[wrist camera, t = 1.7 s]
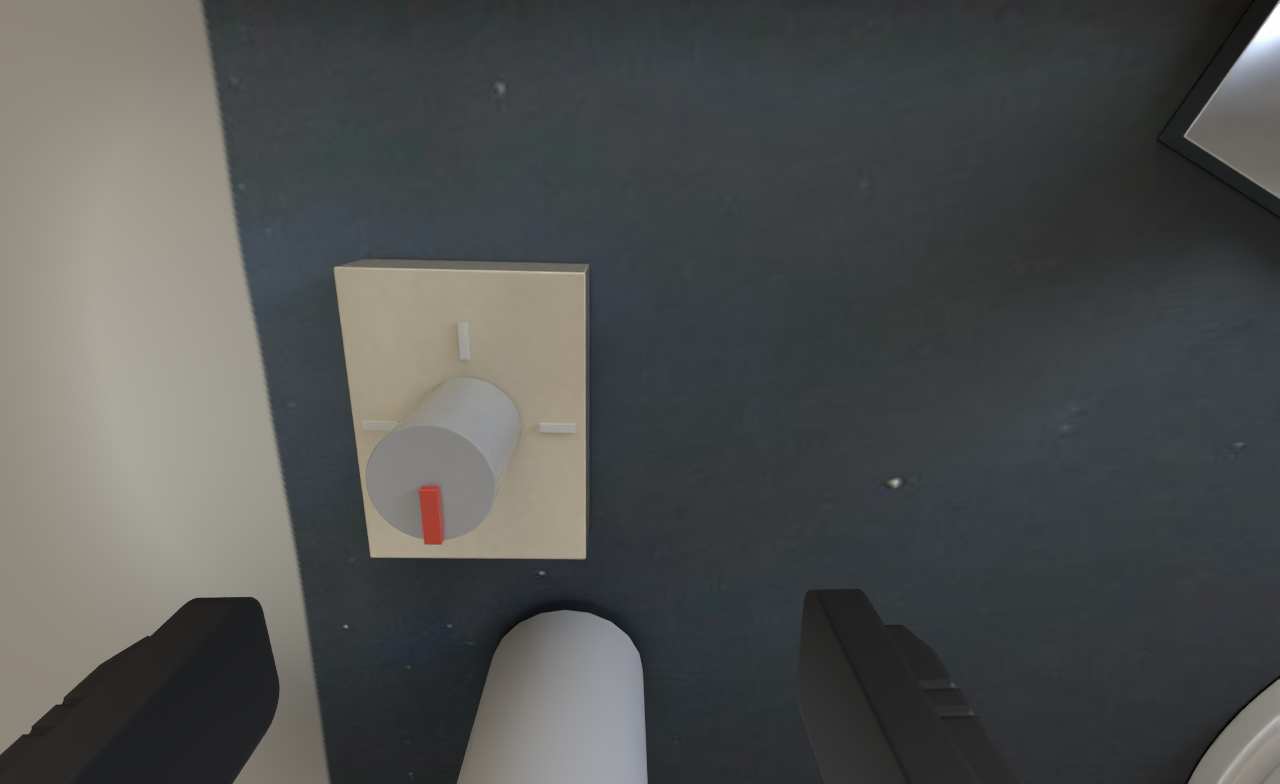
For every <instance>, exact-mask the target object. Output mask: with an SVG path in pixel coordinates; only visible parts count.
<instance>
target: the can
mask: <svg viewBox="0 0 1280 784" xmlns="http://www.w3.org/2000/svg"><path fill="white" fill-rule="evenodd" d="M457 784H647V761H646V737H645V713H644V688H643V671H642V665H641V660H640V654H639V652H638V651H637V649H636V647H635V646H634V644H633V642H632V641H631V639H630V638H629V636H628V635H627V634H625V633H624V632H623V631H622V630H621V629H619V628H618V627H617V626H616V625H614V624H613V623H612V622H610V621H608V620H605V619H603V618H600V617H598V616H596V615H593V614H591V613H586V612H578V611H569V610H561V611H554V612H547V613H541V614H538V615H536V616H534V617H532V618H529V619H527V620H525V621H523V622H520V623H519V624H518V625H516V626H515V627H514V628H513V629H512V630H511V631H510V632H509V633H507V634H506V635H505V636H504V637H503V638H502V640H501V642H500V644H499V646H498V648H497V649H496V651H495V653H494V655H493V658H492V662H491V665H490V669H489V672H488V676H487V679H486V683H485V686H484V690H483V693H482V697H481V700H480V704H479V707H478V711H477V715H476V718H475V722H474V725H473V729H472V732H471V736H470V739H469V743H468V746H467V750H466V753H465V757H464V760H463V764H462V767H461V771H460V775H459V778H458V782H457Z"/></svg>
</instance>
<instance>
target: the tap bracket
mask: <svg viewBox="0 0 1280 784" xmlns="http://www.w3.org/2000/svg"><path fill="white" fill-rule="evenodd" d="M1159 140H1160V141H1162V142H1163V143H1165V144H1166V145H1168V146H1169V147H1171V148H1172V149H1174V150H1176V151H1177V152H1179V153H1180V154H1182V155H1183V156H1185V157H1187V158H1188V159H1190V160H1191V161H1193V162H1194V163H1196V164H1198V165H1199V166H1201V167H1202V168H1204V169H1205V170H1207V171H1208V172H1210V173H1212V174H1213V175H1215V176H1216V177H1218V178H1219V179H1221V180H1223V181H1224V182H1226V183H1227V184H1229V185H1230V186H1232V187H1234V188H1235V189H1237V190H1238V191H1240V192H1241V193H1243V194H1245V195H1246V196H1248V197H1249V198H1251V199H1252V200H1254V201H1255V202H1257V203H1259V204H1260V205H1262V206H1263V207H1265V208H1266V209H1268V210H1270V211H1271V212H1273V213H1274V214H1276V215H1277V216H1279V217H1280V0H1255V1H1254V2H1253V3H1252V5H1251V6H1250V8H1249V9H1248V11H1247V12H1246V14H1245V15H1244V16H1243V18H1242V19H1241V21H1240V22H1239V24H1238V25H1237V26H1236V28H1235V29H1234V31H1233V32H1232V34H1231V35H1230V36H1229V38H1228V39H1227V41H1226V42H1225V44H1224V45H1223V47H1222V48H1221V49H1220V51H1219V52H1218V54H1217V55H1216V57H1215V58H1214V59H1213V61H1212V62H1211V64H1210V65H1209V67H1208V68H1207V70H1206V71H1205V72H1204V74H1203V75H1202V77H1201V78H1200V80H1199V81H1198V82H1197V84H1196V85H1195V87H1194V88H1193V90H1192V91H1191V92H1190V94H1189V95H1188V97H1187V98H1186V100H1185V101H1184V103H1183V104H1182V105H1181V107H1180V108H1179V110H1178V111H1177V113H1176V114H1175V115H1174V117H1173V118H1172V120H1171V121H1170V123H1169V124H1168V126H1167V127H1166V128H1165V130H1164V131H1163V133H1162V134H1161V136H1160V137H1159Z"/></svg>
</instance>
